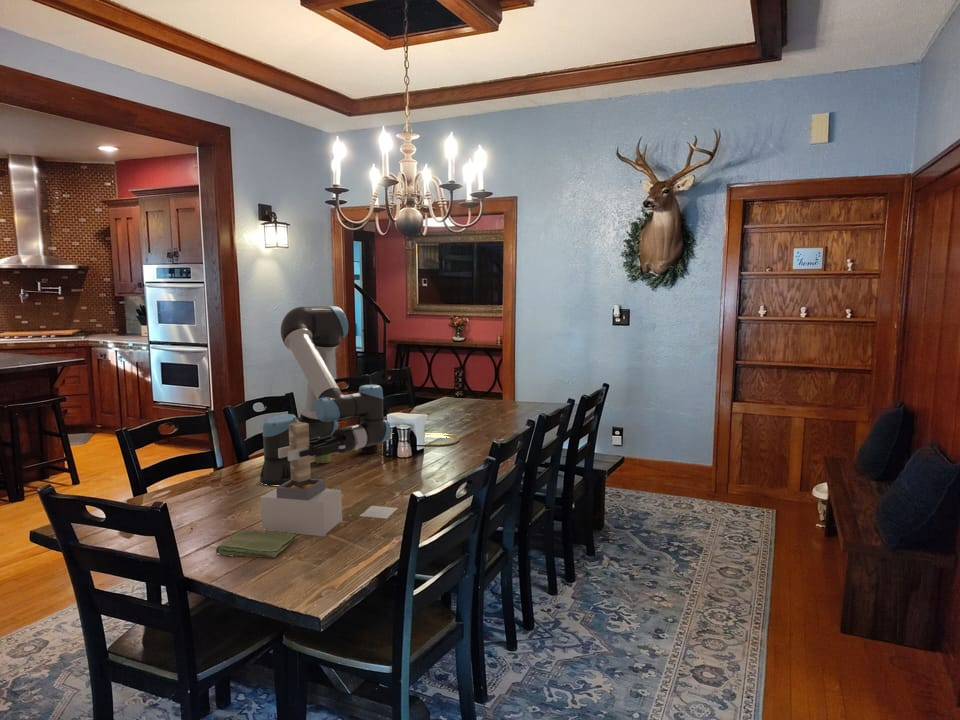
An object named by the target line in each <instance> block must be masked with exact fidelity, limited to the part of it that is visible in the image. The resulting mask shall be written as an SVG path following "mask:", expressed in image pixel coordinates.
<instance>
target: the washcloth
mask: <svg viewBox="0 0 960 720" xmlns="http://www.w3.org/2000/svg"><path fill="white" fill-rule="evenodd" d="M295 539H297V537H296V534H294V533H285V532H275V531H260V530H246V529H245V530H244V529H243V530H240V531H239V530H238V531H237V532H236V533H234V534H233V535H232V536H230V538H229V539H228V540H225V541H224V542H222V543H220V544H219V545H218V546H217V548H215V553H216V554H217V553H219V554H220V555H226V556H225V557H230V556H229V555H233V556H250V557H249V558H267V559H276V558H277V556H278V555H280V553H281V552H282V551H284V550H286V549H287V548H288V547H289V546H290V545H291V544H292V542H294V540H295ZM220 555H219V556H220ZM252 556H253V557H252Z"/></svg>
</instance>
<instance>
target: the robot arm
mask: <svg viewBox="0 0 960 720" xmlns="http://www.w3.org/2000/svg"><path fill="white" fill-rule="evenodd" d="M348 333H349V321H348V318H347V316H346V313H345V312H344V311H343V310H342V308H341V307H339V306H335V305H334V306H333V305H320V306H319V305H318V306H317V305H316V306H315V305H314V306H298V307H294V308H293V309H291V310H289V311H288V312H287V313H286V315H284V317H283V318H282V321H281V325H280V337H281V341H282V342H283V344H284V346H285V347H286V349H288V350H291V352H292V355H293V356H294V358H295V360H296V361H297V364H298V365H299V368H300V369H301V371H302V373H303V375H304V377H305V379H306V381H307V382H306V383H307V384H306V396H305V406H304V407H302V408H301V410H300V416H299V417H298V416H296V415H295V414H293V413H292V414H291V413H287V414H279V415H275V416H272V417H269V418H267V419H266V420H265V421H264V422H263V424H262V441H263V442H262V443H263V444H262V445H263V459H264V460H263V464H262V468H261V472H260V474H259V482H261V483H263V484H267V485H282V484H284V483H286V482H287V481H289V480H291V468H290V461H292V460H296V459H300V458H304V457H308V456H309V455H310V457H314V455H315V456H316V457H319V456H323V455H327V454H331V455H332V454H334V453H339V454H343V453H348V452H350V451H359V449H361V448H363V447H366V446H371V445H375V444H378V445H379V444H381V443H385V442H384V441H386V442H388V440H390V439H391V438H390V436H391V434H392V432H393V431H392V427H391V423H390V422H389V421H388V420H386V419H384V393H383V392H384V391H383V388H382V386H381V385H378V384H364V385H363V384H362V385H360V386H359V388H358V392H356V393H355V392H354V393H349V394H343V393H342V391H341V389H340V388H339V386H338V384H337V383H336V380H335V378H334V376H333V372H334V361H335V352H336V349H337V348H338V347H340V344H341V339H344V338H346V337H347V335H348ZM352 418H353V419H354V418H359V420H360V421H359V422H360V423H359V424H354V425H349V426H346V427H342V428H339V425H338V421H340V420H341V421H343V420H347V419H352ZM297 422H303V423H308V424H309V449H308V447H304V448H299V449H295V450H291V451H290V445H289V424H292V423H297ZM261 483H260V484H261ZM263 484H262V485H263Z"/></svg>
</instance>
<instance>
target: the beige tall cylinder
mask: <svg viewBox="0 0 960 720" xmlns="http://www.w3.org/2000/svg"><path fill="white" fill-rule="evenodd" d="M289 445H290V451H291V450H295V449H299V448H304V447H308V449H309V424H308V423H303V422H297V423H292V424H289ZM290 468H291V485H294V486H297V487H302V486H305V485H308V484H311V479H312V477H311V476H312V475H311V456H310V455H309V456H308V457H304V458H300V459H296V460H292V461H290Z"/></svg>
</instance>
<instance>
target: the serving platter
mask: <svg viewBox="0 0 960 720" xmlns="http://www.w3.org/2000/svg"><path fill="white" fill-rule="evenodd" d="M446 437H447V438H449V439H452V440H454V439H455V440H456V441H455V440H454V441H452V442H448V443H424V444H425V446H424V447H445V445H446V446H450V445H455V444H456V443H457V442H458V441H459V439H460V438H459V436H457V435H454V434H450V433H449V434H448V433H425V438H446Z"/></svg>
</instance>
